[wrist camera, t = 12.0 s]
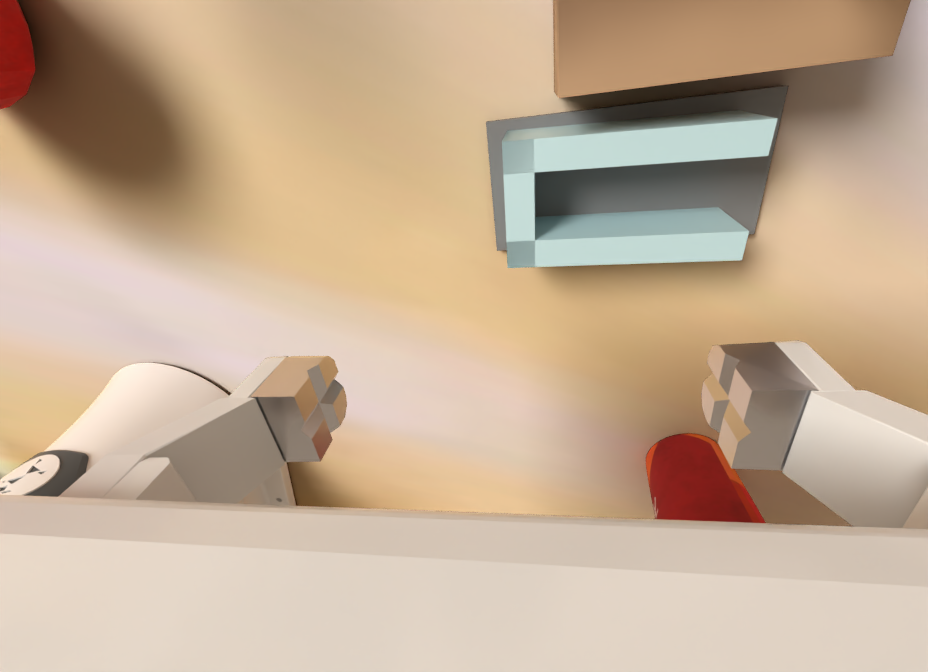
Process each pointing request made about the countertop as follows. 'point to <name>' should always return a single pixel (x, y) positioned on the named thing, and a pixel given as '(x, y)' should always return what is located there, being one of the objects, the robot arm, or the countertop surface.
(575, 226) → the c link
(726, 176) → the mat
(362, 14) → the countertop surface
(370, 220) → the countertop surface
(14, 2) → the apple
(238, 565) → the robot arm
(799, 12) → the stand
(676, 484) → the paper cup
